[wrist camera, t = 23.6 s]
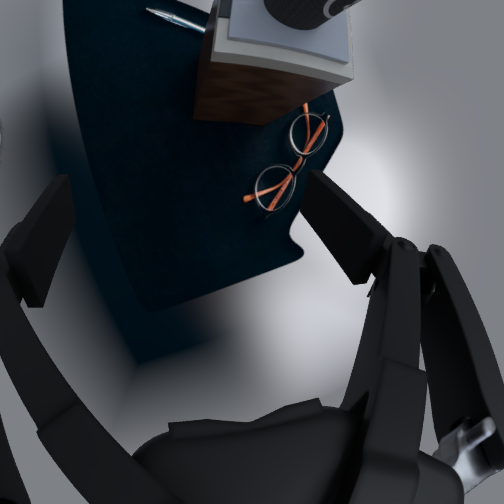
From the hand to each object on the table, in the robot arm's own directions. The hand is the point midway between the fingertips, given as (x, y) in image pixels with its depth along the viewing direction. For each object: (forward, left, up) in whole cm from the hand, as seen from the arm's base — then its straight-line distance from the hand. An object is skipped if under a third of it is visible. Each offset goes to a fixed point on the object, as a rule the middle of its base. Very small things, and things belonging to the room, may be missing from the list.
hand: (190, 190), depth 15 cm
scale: (+8, +19, -11) cm, 24 cm away
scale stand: (+8, +19, -39) cm, 45 cm away
